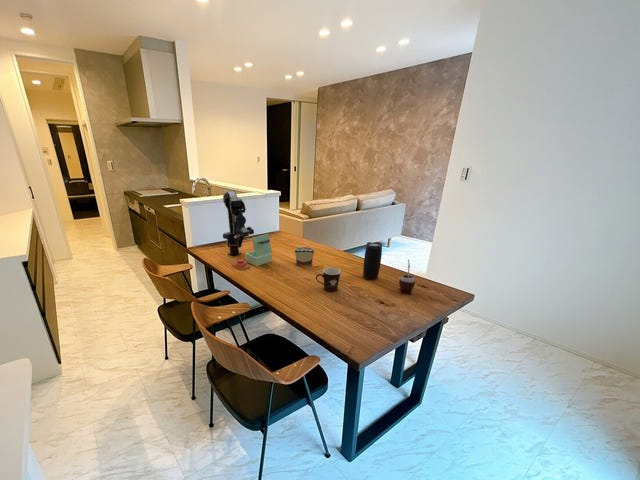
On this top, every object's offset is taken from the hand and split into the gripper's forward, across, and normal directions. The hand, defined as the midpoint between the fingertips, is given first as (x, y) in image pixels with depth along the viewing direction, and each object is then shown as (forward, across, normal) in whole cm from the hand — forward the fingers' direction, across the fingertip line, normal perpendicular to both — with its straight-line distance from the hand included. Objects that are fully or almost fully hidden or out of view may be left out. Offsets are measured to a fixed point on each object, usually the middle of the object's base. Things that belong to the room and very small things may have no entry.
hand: (239, 247), depth 177 cm
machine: (+12, +14, 0) cm, 19 cm away
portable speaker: (+13, +43, -63) cm, 77 cm away
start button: (+10, 0, 0) cm, 10 cm away
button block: (+12, 0, 0) cm, 12 cm away
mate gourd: (+13, +41, -84) cm, 94 cm away
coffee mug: (+13, +15, -56) cm, 59 cm away
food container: (+13, +32, -23) cm, 41 cm away
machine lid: (+1, +14, -4) cm, 15 cm away
